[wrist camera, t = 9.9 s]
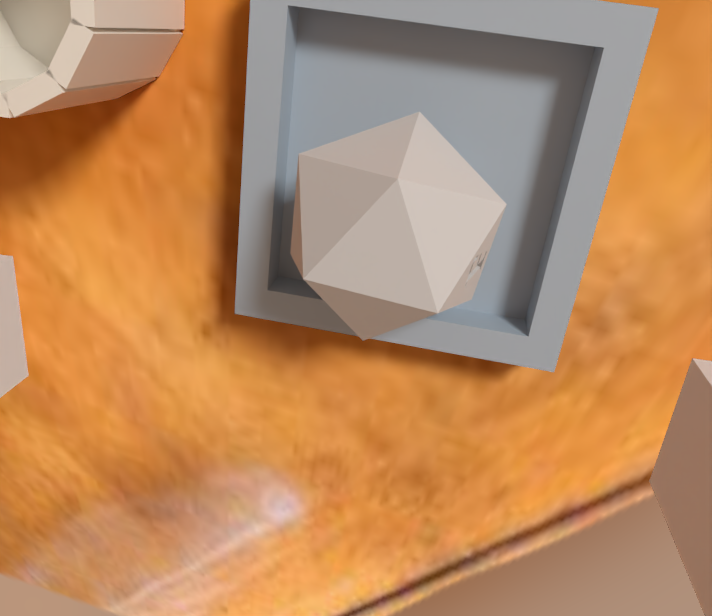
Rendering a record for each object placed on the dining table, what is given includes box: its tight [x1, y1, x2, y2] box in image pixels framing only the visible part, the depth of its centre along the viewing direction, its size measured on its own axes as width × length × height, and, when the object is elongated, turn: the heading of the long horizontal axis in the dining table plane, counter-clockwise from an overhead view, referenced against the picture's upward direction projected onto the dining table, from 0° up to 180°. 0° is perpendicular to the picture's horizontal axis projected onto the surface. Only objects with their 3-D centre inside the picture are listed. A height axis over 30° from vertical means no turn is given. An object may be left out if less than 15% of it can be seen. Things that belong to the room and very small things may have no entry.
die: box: [290, 112, 507, 341], centre depth 27 cm, size 8×9×10 cm
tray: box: [235, 0, 659, 372], centre depth 30 cm, size 16×16×3 cm
